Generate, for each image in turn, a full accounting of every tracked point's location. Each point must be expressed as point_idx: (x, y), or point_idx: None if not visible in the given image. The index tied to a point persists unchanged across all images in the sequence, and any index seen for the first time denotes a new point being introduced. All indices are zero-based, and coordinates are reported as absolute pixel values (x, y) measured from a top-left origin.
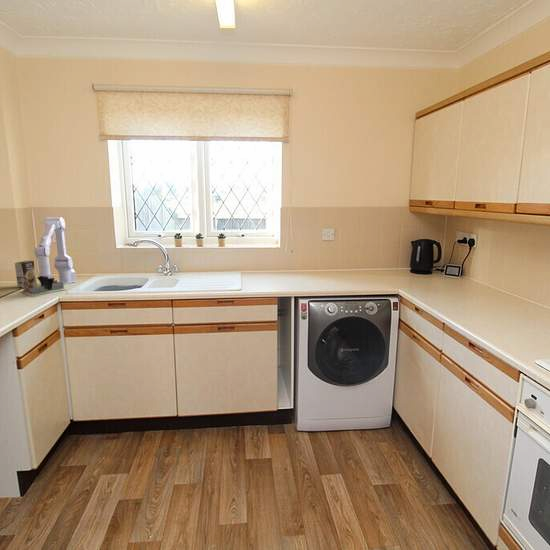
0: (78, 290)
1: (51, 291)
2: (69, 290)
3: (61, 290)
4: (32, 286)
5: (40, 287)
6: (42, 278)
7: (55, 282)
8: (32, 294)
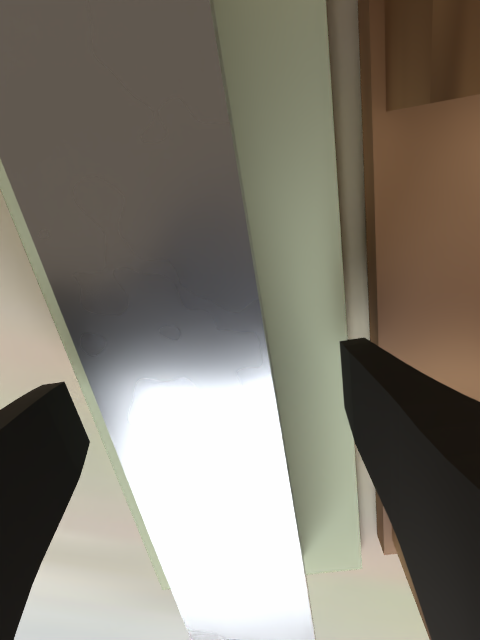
0: (31, 636)
1: None
2: (99, 580)
3: (141, 522)
4: (454, 80)
5: (54, 278)
6: (478, 623)
7: None
8: None
